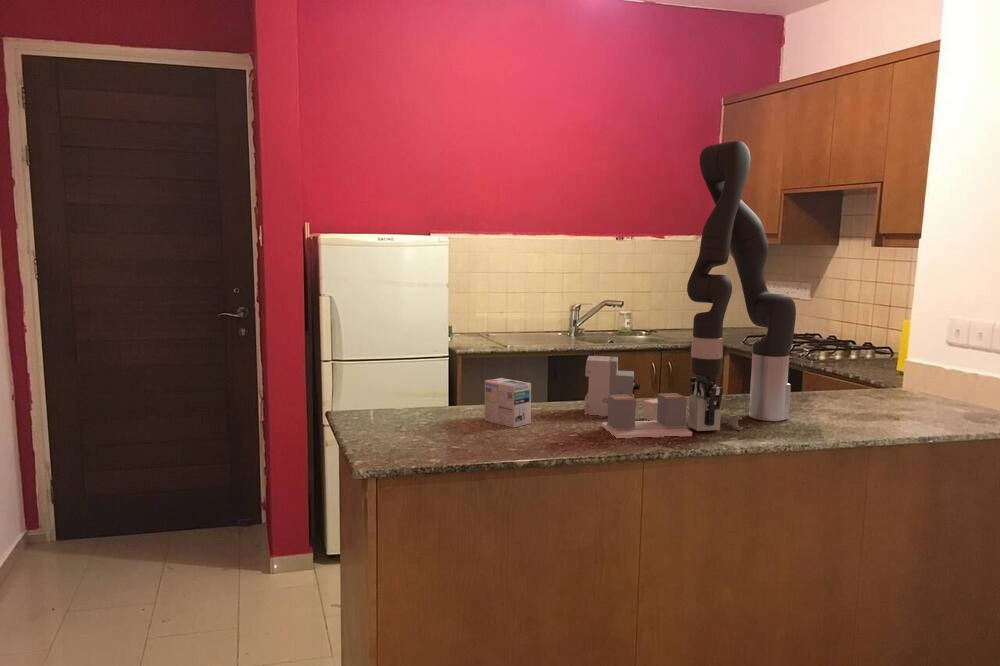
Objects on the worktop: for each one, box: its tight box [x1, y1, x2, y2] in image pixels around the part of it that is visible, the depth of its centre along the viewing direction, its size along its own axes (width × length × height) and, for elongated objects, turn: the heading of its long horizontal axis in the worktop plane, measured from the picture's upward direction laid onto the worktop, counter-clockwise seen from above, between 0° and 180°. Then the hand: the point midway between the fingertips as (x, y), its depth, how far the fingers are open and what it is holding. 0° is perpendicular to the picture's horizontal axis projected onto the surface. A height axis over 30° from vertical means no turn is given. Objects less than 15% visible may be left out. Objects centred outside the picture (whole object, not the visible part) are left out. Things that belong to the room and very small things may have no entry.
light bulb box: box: [484, 377, 532, 428], centre depth 196 cm, size 11×7×11 cm, turn 47°
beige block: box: [643, 398, 658, 421], centre depth 201 cm, size 4×4×5 cm
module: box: [688, 394, 722, 432], centre depth 190 cm, size 6×5×8 cm
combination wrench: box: [720, 414, 744, 431], centre depth 199 cm, size 4×1×20 cm
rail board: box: [601, 392, 693, 439], centre depth 189 cm, size 19×12×9 cm, turn 100°
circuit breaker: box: [584, 355, 641, 417], centre depth 207 cm, size 8×14×15 cm, turn 78°
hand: (704, 422), depth 191 cm, fingers closed on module, 5 cm apart
